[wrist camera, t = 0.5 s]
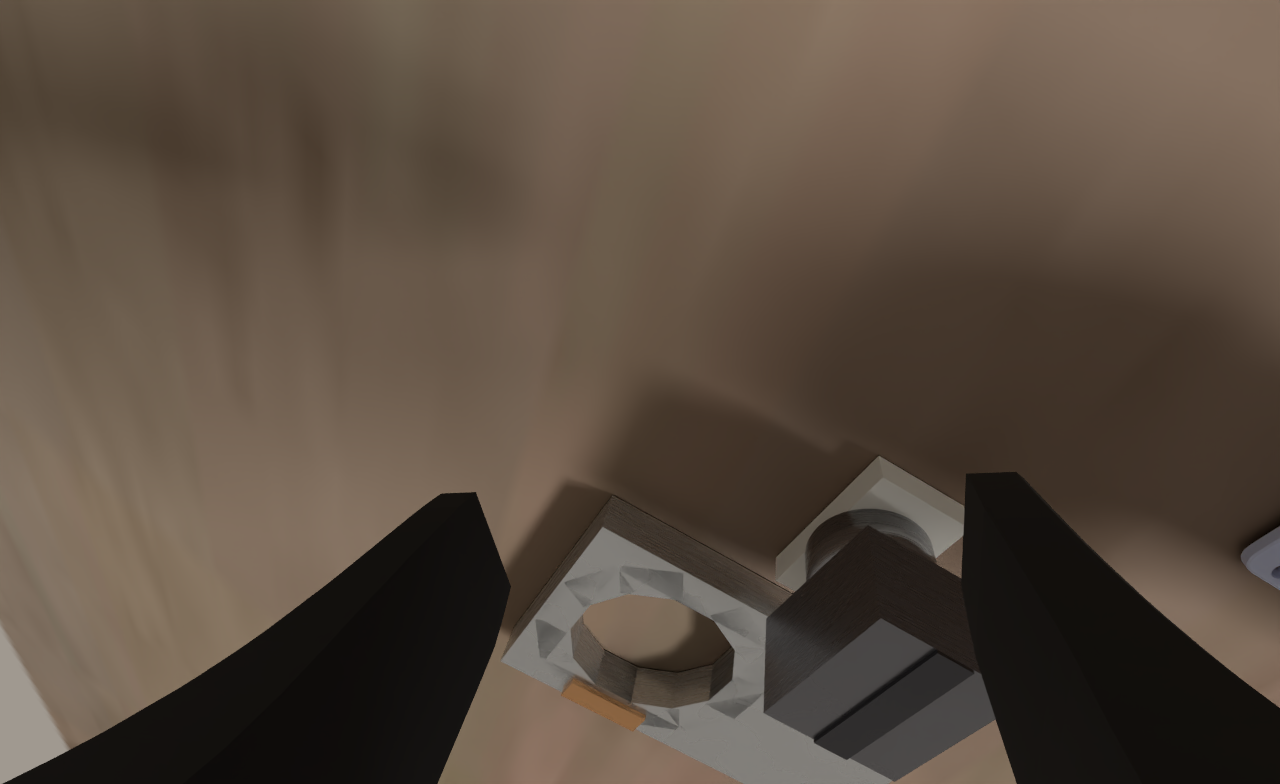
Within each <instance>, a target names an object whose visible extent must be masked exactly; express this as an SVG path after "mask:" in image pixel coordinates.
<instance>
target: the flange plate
mask: <svg viewBox="0 0 1280 784" xmlns="http://www.w3.org/2000/svg"><path fill="white" fill-rule="evenodd" d="M626 594H633V595H641V596H649V597H657V598H665V599H674V600H676V601H678V602H680V603H682V604H684V605H685V606H687V607H689V608H691V609H693V610H695V611H697V612H698V613H700V614H702V615H704V616H706V617H708V618H710V619H712V620H713V621H714V622H715V623H716V624H717V626H718V627H719V629H720V630H721V632H722V633H723V634H724V636H725V637H726V639H727V640H728V641H729V643H730V644H731V646H732V647H731V648H730V649H729V650H728V651H727V652H725V653H724V654H723V655H722V656H721V657H720V658H719V659H718V660H717V661H716V662H715V663H714V664H713V665H708V666H704V667H700V668H696V669H691V670H687V671H683V672H679V673H675V672H667V671H660V670H653V669H646V668H638V667H636V666H634V665H632V664H630V663H629V662H627V661H625V660H623V659H621V658H619V657H617V656H615V655H613V654H611V653H609V652H607V651H605V650H604V649H603V648H602V647H601V645H600V644H599V643H598V642H597V640H596V639H595V638H594V637H593V636H592V634H591V633H590V632H589V631H588V629H587V628H586V627H585V626H584V624H583V616H582V614H583V613H584V612H585V611H586V609H587V608H588V607H589V606H590V605H592V604H596V603H599V602H603V601H606V600H609V599H613V598H616V597H620V596H623V595H626ZM791 595H792V594H791V593H790V592H788V591H786V590H784V589H782V588H780V587H779V586H777V585H775V584H773V583H771V582H770V581H768V580H766V579H764V578H762V577H761V576H759V575H757V574H755V573H753V572H751V571H750V570H748V569H746V568H744V567H742V566H741V565H739V564H737V563H735V562H733V561H731V560H730V559H728V558H726V557H724V556H722V555H721V554H719V553H717V552H715V551H713V550H712V549H710V548H708V547H706V546H704V545H702V544H701V543H699V542H697V541H695V540H693V539H692V538H690V537H688V536H686V535H684V534H682V533H681V532H679V531H677V530H675V529H673V528H672V527H670V526H668V525H666V524H664V523H663V522H661V521H659V520H657V519H655V518H653V517H652V516H650V515H648V514H646V513H644V512H643V511H641V510H639V509H637V508H635V507H633V506H632V505H630V504H628V503H626V502H624V501H623V500H621V499H619V498H617V497H615V496H614V495H612V497H611V498H610V499H609V501H608V502H607V503H606V505H605V506H604V507H603V509H602V510H601V511H600V513H599V514H598V515H597V517H596V518H595V519H594V521H593V522H592V523H591V525H590V526H589V527H588V529H587V530H586V531H585V533H584V534H583V535H582V537H581V538H580V540H579V541H578V542H577V544H576V545H575V546H574V548H573V549H572V550H571V552H570V553H569V554H568V556H567V557H566V558H565V560H564V561H563V562H562V564H561V565H560V566H559V568H558V569H557V570H556V572H555V573H554V574H553V576H552V577H551V578H550V580H549V581H548V582H547V584H546V585H545V586H544V588H543V589H542V590H541V592H540V593H539V594H538V596H537V597H536V598H535V600H534V601H533V602H532V604H531V605H530V606H529V608H528V609H527V611H526V612H525V613H524V615H523V616H522V617H521V619H520V620H519V621H518V623H517V624H516V625H515V627H514V628H513V630H512V633H511V635H510V638H509V641H508V643H507V646H506V648H505V651H504V653H503V656H502V658H501V662H503V663H505V664H507V665H509V666H511V667H513V668H515V669H517V670H519V671H521V672H523V673H525V674H527V675H529V676H531V677H533V678H535V679H537V680H539V681H541V682H543V683H545V684H547V685H549V686H551V687H553V688H555V689H557V690H559V691H561V692H562V694H561V696H563V697H565V698H567V699H569V700H571V701H573V702H575V703H577V704H579V705H581V706H583V707H585V708H587V709H589V710H591V711H593V712H595V713H597V714H599V715H601V716H603V717H605V718H607V719H609V720H611V721H613V722H615V723H617V724H619V725H621V726H623V727H625V728H627V729H629V730H631V731H634V730H635V729H636V730H638V731H640V732H642V733H644V734H646V735H648V736H650V737H652V738H654V739H656V740H658V741H660V742H662V743H664V744H666V745H668V746H670V747H672V748H674V749H676V750H678V751H680V752H682V753H684V754H686V755H688V756H690V757H692V758H694V759H696V760H698V761H700V762H702V763H704V764H706V765H708V766H710V767H712V768H714V769H716V770H718V771H720V772H722V773H724V774H726V775H728V776H730V777H732V778H734V779H735V780H737V781H739V782H741V783H743V784H888V783H890V782H891V781H893V780H891V779H889V778H887V777H885V776H883V775H881V774H879V773H877V772H875V771H873V770H871V769H870V768H868V767H866V766H864V765H862V764H860V763H858V762H856V761H854V760H852V759H850V758H849V759H848V760H845V759H843V758H842V757H840V756H838V755H836V754H834V753H832V752H830V751H828V750H826V749H824V748H822V747H820V746H819V745H817V744H815V743H814V739H812V738H810V737H808V736H806V735H804V734H802V733H801V732H799V731H797V730H795V729H793V728H791V727H789V726H787V725H785V724H783V723H781V722H779V721H778V720H776V719H774V718H772V717H770V716H768V715H766V714H764V713H763V712H764V677H765V642H766V618H767V617H768V616H769V615H771V614H772V613H773V612H774V611H775V610H776V609H777V608H778V607H779V606H780V605H781V604H782V603H784V602H785V601H786V600H787V599H788V598H789V597H790V596H791Z"/></svg>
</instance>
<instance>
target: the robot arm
mask: <svg viewBox="0 0 1280 784" xmlns="http://www.w3.org/2000/svg"><path fill="white" fill-rule="evenodd" d="M1241 561H1242V562H1243V564H1244V565H1245V566H1246V568H1247V569H1248V570H1249V571H1250V572H1251V573H1252V574H1254V575H1256V576H1257V577H1259V578H1260V579H1262V580H1264V581H1265V582H1267V583H1269V584H1270V585H1272V586H1273V587H1275V588H1277V589H1278V590H1280V567H1278V566H1280V526H1279V527H1277V528H1276V529H1274V530H1273V531H1271V532H1269V533H1268V534H1266V535H1265V536H1263V537H1261V538H1260V539H1258V540H1257V541H1255V542H1254V543H1252V544H1250V545H1249V546H1248V547H1247V548H1245V549H1244V550H1243V552H1242V554H1241ZM1276 567H1278V568H1276ZM961 587H962V592H963V597H964V603H965V608H966V613H967V618H968V623H969V628H970V633H971V638H972V643H973V647H974V652H975V656H976V660H977V663H978V666H979V669H980V672H981V675H982V678H983V681H984V685H985V688H986V691H987V694H988V697H989V700H990V703H991V706H992V709H993V712H994V715H995V719H996V722H997V725H998V728H999V731H1000V734H1001V737H1002V740H1003V743H1004V746H1005V749H1006V752H1007V755H1008V758H1009V761H1010V764H1011V767H1012V770H1013V773H1014V776H1015V779H1016V783H1017V784H1280V708H1279V707H1278V706H1276V705H1275V704H1274V703H1272V702H1271V701H1270V700H1268V699H1267V698H1266V697H1264V696H1263V695H1262V694H1260V693H1259V692H1258V691H1256V690H1255V689H1253V688H1252V687H1251V686H1249V685H1248V684H1247V683H1245V682H1244V681H1243V680H1242V679H1240V678H1239V677H1238V676H1237V675H1235V674H1234V673H1233V672H1231V671H1230V670H1229V669H1228V668H1226V667H1225V666H1224V665H1223V664H1221V663H1220V662H1219V661H1218V660H1216V659H1215V658H1214V657H1213V656H1212V655H1210V654H1209V653H1208V652H1207V651H1205V650H1204V649H1203V648H1202V647H1201V646H1199V645H1198V644H1197V643H1196V642H1195V641H1193V640H1192V639H1191V638H1190V637H1189V636H1188V635H1186V634H1185V633H1184V632H1183V631H1182V630H1180V629H1179V628H1178V627H1177V626H1176V625H1175V624H1173V623H1172V622H1171V621H1170V620H1169V619H1167V618H1166V617H1165V616H1164V615H1163V614H1162V613H1161V612H1160V611H1158V610H1157V609H1156V608H1155V607H1154V606H1153V605H1152V604H1151V603H1149V602H1148V601H1147V600H1146V599H1145V598H1144V597H1143V596H1142V595H1140V594H1139V593H1138V592H1137V591H1136V590H1135V589H1134V588H1133V587H1132V586H1131V585H1130V584H1129V583H1128V582H1127V581H1125V580H1124V579H1123V578H1122V577H1121V576H1120V575H1119V574H1118V573H1117V572H1116V571H1115V570H1114V569H1113V568H1112V567H1110V566H1109V565H1108V564H1107V563H1106V562H1105V561H1104V560H1103V559H1102V558H1101V557H1100V556H1099V555H1098V554H1097V553H1096V552H1095V551H1094V550H1093V549H1092V548H1091V547H1090V546H1089V545H1088V544H1087V543H1086V542H1084V541H1083V539H1082V538H1081V537H1080V536H1079V535H1078V534H1077V533H1076V532H1075V531H1074V530H1073V529H1072V528H1071V527H1070V526H1069V525H1068V524H1067V523H1066V522H1065V521H1064V520H1063V519H1062V518H1061V517H1060V516H1059V515H1058V514H1057V513H1056V512H1055V511H1054V510H1053V509H1052V508H1051V507H1050V506H1049V505H1048V504H1047V503H1046V502H1045V500H1044V499H1043V498H1042V497H1041V496H1040V495H1039V494H1038V493H1037V492H1036V491H1035V490H1034V489H1033V488H1032V487H1031V486H1030V485H1029V483H1028V482H1027V481H1026V480H1025V479H1024V478H1023V477H1021V476H1020V475H1019V474H1018V473H1017V472H1003V473H976V474H966V488H965V510H964V532H963V555H962V577H961ZM510 588H511V586H510V583H509V580H508V578H507V575H506V572H505V570H504V567H503V564H502V561H501V559H500V556H499V553H498V551H497V548H496V545H495V543H494V540H493V537H492V535H491V532H490V529H489V527H488V524H487V521H486V518H485V516H484V513H483V510H482V508H481V505H480V502H479V500H478V497H477V494H476V492H471V493H445V494H440V495H439V496H437V497H436V498H434V499H433V500H432V501H430V502H429V503H427V504H426V505H425V506H423V507H422V508H421V509H420V510H418V511H417V512H416V513H414V514H413V515H412V516H411V517H409V518H408V519H407V520H406V521H404V522H403V523H402V524H401V525H399V526H398V527H397V528H396V529H395V530H393V531H392V532H391V533H390V534H388V535H387V536H386V537H385V538H384V539H382V540H381V541H380V542H379V543H377V544H376V545H375V546H374V547H373V548H371V549H370V550H369V551H368V552H366V553H365V554H364V555H363V556H361V557H360V558H359V559H358V560H357V561H355V562H354V563H353V564H352V565H350V566H349V567H348V568H347V569H345V570H344V571H343V572H342V573H341V574H339V575H338V576H337V577H336V578H334V579H333V580H332V581H331V582H329V583H328V584H327V585H325V586H324V587H323V588H322V589H320V590H319V591H318V592H316V593H315V594H314V595H312V596H311V597H310V598H308V599H307V600H306V601H304V602H303V603H302V604H300V605H299V606H298V607H296V608H295V609H294V610H293V611H291V612H290V613H289V614H287V615H286V616H285V617H283V618H282V619H281V620H279V621H278V622H277V623H275V624H274V625H273V626H271V627H270V628H269V629H267V630H266V631H265V632H263V633H262V634H260V635H259V636H258V637H256V638H255V639H253V640H252V641H250V642H249V643H248V644H246V645H245V646H243V647H242V648H240V649H239V650H237V651H236V652H234V653H233V654H231V655H230V656H228V657H227V658H225V659H224V660H222V661H221V662H219V663H218V664H216V665H215V666H213V667H212V668H210V669H209V670H207V671H205V672H204V673H202V674H201V675H199V676H198V677H196V678H195V679H193V680H192V681H190V682H188V683H187V684H185V685H183V686H182V687H180V688H179V689H177V690H175V691H173V692H172V693H170V694H168V695H167V696H165V697H163V698H161V699H160V700H158V701H156V702H155V703H153V704H151V705H149V706H148V707H146V708H144V709H143V710H141V711H139V712H137V713H136V714H134V715H132V716H130V717H129V718H127V719H125V720H124V721H122V722H120V723H118V724H117V725H115V726H113V727H112V728H110V729H108V730H106V731H105V732H103V733H101V734H99V735H97V736H95V737H93V738H92V739H90V740H88V741H86V742H84V743H82V744H80V745H78V746H76V747H75V748H73V749H71V750H69V751H67V752H65V753H63V754H61V755H59V756H57V757H56V758H54V759H52V760H50V761H48V762H46V763H44V764H41V765H39V766H38V767H36V768H33V769H32V770H29V771H27V772H25V773H23V774H21V775H19V776H17V777H16V778H13V779H12V780H10V781H7V782H5V783H3V784H437V783H438V781H439V779H440V776H441V774H442V771H443V769H444V767H445V764H446V762H447V760H448V757H449V755H450V753H451V750H452V748H453V745H454V743H455V741H456V738H457V736H458V734H459V731H460V729H461V727H462V724H463V722H464V719H465V717H466V715H467V712H468V710H469V708H470V705H471V703H472V701H473V698H474V696H475V694H476V691H477V689H478V686H479V684H480V681H481V679H482V677H483V674H484V672H485V669H486V667H487V664H488V662H489V659H490V657H491V654H492V652H493V649H494V647H495V644H496V640H497V637H498V633H499V630H500V626H501V623H502V619H503V616H504V612H505V608H506V604H507V600H508V596H509V592H510Z"/></svg>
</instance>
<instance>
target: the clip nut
mask: <svg viewBox="0 0 1280 784" xmlns="http://www.w3.org/2000/svg"><path fill="white" fill-rule="evenodd" d="M805 569H806V582H805V583H804V584H803V585H802V586H801V587H800V588H799V589H798V590H796V591H795V592H794V593H793V594H792V595H791V596H790V597H789V598H788V599H787V600H786V601H785V602H784V603H782V604H781V605H780V606H779V607H778V608H777V609H776V610H775V611H774V612H773V613H772V614H771V615H769V616H768V617H767V618H766V642H765V677H764V712H763V713H764V714H766V715H768V716H770V717H772V718H774V719H776V720H778V721H779V722H781V723H783V724H785V725H787V726H789V727H791V728H793V729H795V730H797V731H799V732H801V733H802V734H804V735H806V736H808V737H810V738H812V739H814V743H815V744H817V745H819V746H820V747H822V748H824V749H826V750H828V751H830V752H832V753H834V754H836V755H838V756H840V757H842V758H843V759H845V760H848V759H849V758H850V759H852V760H854V761H856V762H858V763H860V764H862V765H864V766H866V767H868V768H870V769H871V770H873V771H875V772H877V773H879V774H881V775H883V776H885V777H887V778H889V779H891V780H893V781H894V782H895V781H897V780H898V779H900V778H902V777H903V776H905V775H906V774H908V773H910V772H911V771H913V770H914V769H916V768H918V767H919V766H921V765H923V764H924V763H926V762H927V761H929V760H931V759H932V758H934V757H935V756H937V755H939V754H940V753H942V752H944V751H945V750H947V749H948V748H950V747H952V746H953V745H955V744H956V743H958V742H960V741H961V740H963V739H965V738H966V737H968V736H969V735H971V734H973V733H974V732H976V731H977V730H979V729H981V728H982V727H984V726H986V725H987V724H989V723H990V722H992V721H994V720H995V715H994V712H993V709H992V706H991V703H990V700H989V697H988V694H987V691H986V688H985V685H984V681H983V678H982V675H981V672H980V669H979V666H978V663H977V660H976V656H975V652H974V647H973V643H972V638H971V633H970V628H969V623H968V618H967V613H966V608H965V603H964V597H963V592H962V587H961V578H959V577H958V576H956V575H954V574H952V573H951V572H949V571H947V570H945V569H944V568H942V567H940V566H938V565H937V562H936V558H935V554H934V550H933V546H932V543H931V541H930V538H929V537H928V535H927V534H926V532H925V531H924V530H923V529H922V528H921V527H920V526H919V525H918V524H917V523H915V522H914V521H912V520H911V519H909V518H907V517H905V516H903V515H901V514H898V513H895V512H891V511H887V510H881V509H857V510H851V511H847V512H843V513H840V514H837V515H835V516H833V517H831V518H829V519H828V520H826V521H824V522H823V523H822V524H821V525H819V526H818V527H817V528H816V529H815V530H814V532H813V533H812V534H811V536H810V537H809V540H808V542H807V545H806V549H805Z"/></svg>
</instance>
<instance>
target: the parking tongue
mask: <svg viewBox="0 0 1280 784" xmlns="http://www.w3.org/2000/svg"><path fill="white" fill-rule="evenodd" d="M857 509H881V510H887V511H891V512H895V513H898V514H901V515H903V516H905V517H907V518H909V519H911V520H912V521H914V522H915V523H917V524H918V525H919V526H920V527H921V528H922V529H923V530H924V531H925V532H926V534H927V535H928V537H929V538H930V541H931V543H932V546H933V550H934V554H935V558H937V557H938V556H939V555H940V554H942V553H943V552H944V551H945V550H946V549H948V548H949V547H950V546H951V545H952V544H954V543H955V542H956V541H957V540H959V539H960V538H961V537H962V536H963V532H964V510H965V509H964V506H963V505H961V504H960V503H958V502H956V501H955V500H953V499H951V498H950V497H948V496H946V495H945V494H943V493H941V492H939V491H938V490H936V489H934V488H933V487H931V486H929V485H928V484H926V483H924V482H923V481H921V480H919V479H918V478H916V477H914V476H913V475H911V474H909V473H907V472H906V471H904V470H902V469H901V468H899V467H897V466H896V465H894V464H892V463H891V462H889V461H887V460H886V459H884V458H882V457H880V456H878V457H877V458H876V459H875V460H874V461H873V462H872V463H871V464H870V465H869V466H868V467H867V468H866V469H865V470H864V471H863V472H862V473H861V474H860V475H859V476H858V477H857V478H856V479H855V480H854V481H853V482H852V483H851V484H850V485H849V486H848V487H847V488H846V489H845V490H844V491H843V492H842V493H841V494H840V495H839V496H838V497H837V498H836V499H835V500H834V501H832V502H831V503H830V504H829V505H828V506H827V507H826V508H825V509H824V510H823V511H822V512H821V513H820V514H819V515H818V516H817V517H816V518H815V519H814V520H813V521H812V522H811V523H810V524H809V525H808V526H807V527H806V528H805V529H804V530H803V531H802V532H801V533H800V534H799V535H798V536H797V537H796V538H795V539H794V540H793V541H792V542H791V543H790V544H789V545H788V546H787V547H786V548H785V549H784V550H783V551H782V552H781V553H780V554H779V555H778V556H777V557H776V581H777V582H779V583H781V584H783V585H785V586H786V587H788V588H790V589H792V590H794V591H796V590H798V589H799V588H800V587H801V586H802V585H803V584H804V583H805V582H806V569H805V549H806V545H807V542H808V540H809V537H810V536H811V534H812V533H813V532H814V530H815V529H816V528H817V527H818V526H819V525H821V524H822V523H823V522H824V521H826V520H828V519H829V518H831V517H833V516H835V515H837V514H840V513H843V512H847V511H851V510H857Z"/></svg>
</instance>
